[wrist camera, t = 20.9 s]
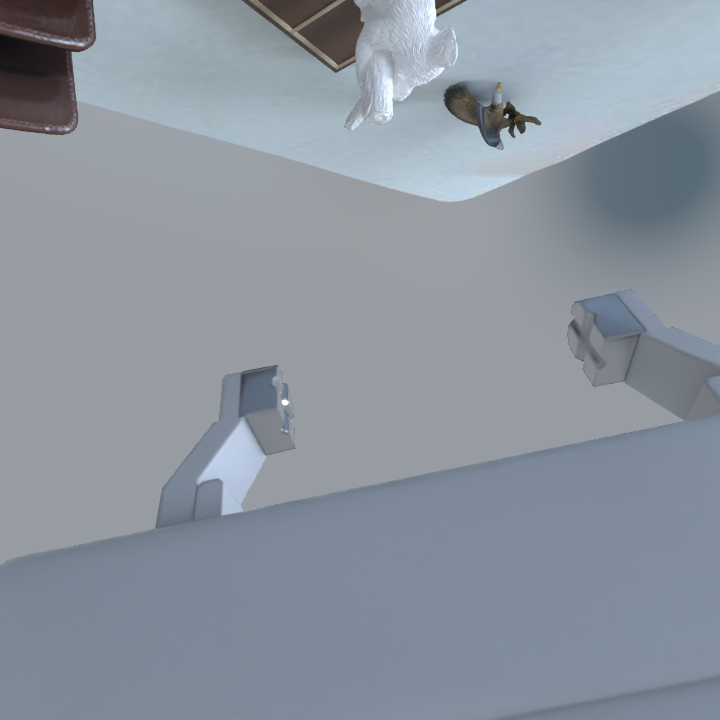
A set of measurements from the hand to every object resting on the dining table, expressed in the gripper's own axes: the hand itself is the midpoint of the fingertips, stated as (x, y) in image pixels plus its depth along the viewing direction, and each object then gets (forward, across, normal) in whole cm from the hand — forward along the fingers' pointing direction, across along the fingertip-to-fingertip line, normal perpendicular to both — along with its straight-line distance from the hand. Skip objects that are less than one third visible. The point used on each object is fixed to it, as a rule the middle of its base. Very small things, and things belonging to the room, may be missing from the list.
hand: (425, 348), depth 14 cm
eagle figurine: (+48, -17, +12) cm, 52 cm away
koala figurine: (+33, -5, -5) cm, 34 cm away
